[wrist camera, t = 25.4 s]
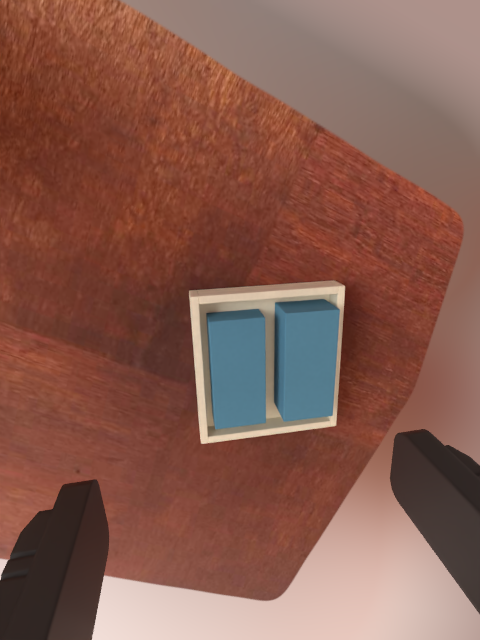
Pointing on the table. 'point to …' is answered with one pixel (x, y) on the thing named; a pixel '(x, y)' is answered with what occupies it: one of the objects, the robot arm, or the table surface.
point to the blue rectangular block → (305, 358)
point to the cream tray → (265, 303)
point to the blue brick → (237, 367)
